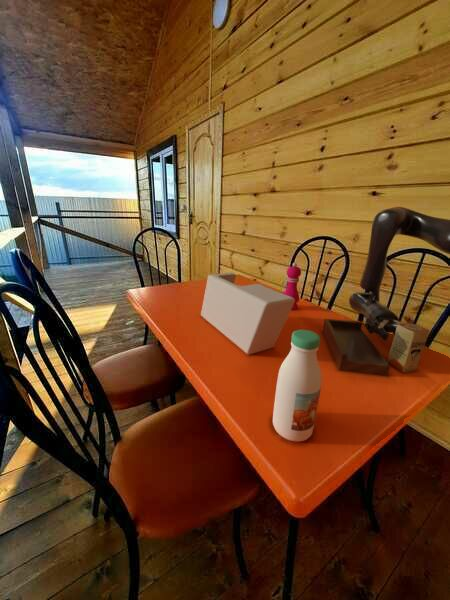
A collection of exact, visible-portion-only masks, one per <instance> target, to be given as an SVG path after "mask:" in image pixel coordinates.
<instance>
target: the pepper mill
mask: <svg viewBox="0 0 450 600" xmlns="http://www.w3.org/2000/svg"><path fill="white" fill-rule="evenodd" d="M301 275H302V269H301V268H300V267H299V266H298V263H297V262H293V263H292V266H289V267H288V268H287V269H286V276H287V277H286V281H287V286H286V288H285V290H284V292H282V294H285V295H287V296H290V297H292V298H294V299H295V302H294V304H293V307H292V309H291V311H295V310H297V309H298V303H299V301H300V294H299V291H298V283H299V282H300V276H301Z"/></svg>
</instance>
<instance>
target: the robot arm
mask: <svg viewBox="0 0 450 600" xmlns="http://www.w3.org/2000/svg"><path fill="white" fill-rule="evenodd" d="M371 224H372V225H371V231H370V240H369V245H368V253H367V256H366V262H365V265H364V268H363V271H362V273H361V278H360V281H359V287H360V288H361V289H362V290H365V291H367V292H360V291H359V292H358V291H357V292H353V293H352V294H351V295H350V296H349V297H348V298H349V299H348V304H349V306H350V308H351V309H352V310H353V311H355V312H357V313H359V314H361V315H362V316H364V317H365V318H366V319H365V322H364V328H365V329H366V331H367V332H368V333H369V334H372V335H373V334H375V335H377V336H379V338H381V339H382V340H383V341H388V339H389V336H390V334H391V333H392V334H395V332H396V328H397V325H398V324H404V323H403V322H401V321H400V320H399V317H398V315H397V314H396V313H395V312H394V311H392V310H391V309H390V308H388V307H387V305H384V304H382V302H380V292H381V286H382V283H383V280H384V277H385V275H386V270H387V258H388V257H387V256H388V251H389V248H390V246H391V243H392V241H393V240H394V238H395V237H396V236H398V235H401V236H407V237H411V238H416V239H419V240H422V241H424V242H426V243H427V244H429V245H430V246H432V247H434V248H435V249H437V250H439V251H441V252H443V253H445V254H447V255H450V219H448V218H443V217H442V218H441V217H435V216H431V215H427V214H425V213H422V212H418V211H416V210H412V209H410V208H407V207H404V206H393V207H390V208H385V209H382V210H381V211H379V212H378V213H377V214H376V215H375V216H374V217H373V220H372V223H371ZM389 333H390V334H389Z"/></svg>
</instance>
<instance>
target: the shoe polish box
mask: <svg viewBox="0 0 450 600" xmlns="http://www.w3.org/2000/svg"><path fill="white" fill-rule="evenodd" d="M430 332H431V330H429V329H427V328H426V327H423V326H421V325H418V324H416V323H413V322H407V323H405V322H404V323H403V324H398V325H397V328H396V332H395V333H394V336H393V338H392V343H391V345H390V350H389V352H388V353H389V354H388V357H387V360H386V362H387V363H388V364H389V366H391V367H393V368H395V369H396V370H398V371H399V372H401V373H409V372H414V371H417V370H418V367H419V364H420V361H421V358H422V355H423V352H424V349H425V346H426V343H427V340H428V337H429V335H430Z"/></svg>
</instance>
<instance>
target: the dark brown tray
mask: <svg viewBox="0 0 450 600" xmlns="http://www.w3.org/2000/svg"><path fill="white" fill-rule="evenodd" d="M362 327H363V322H362V321H355V320H345V319H333V318H324V320H323V326H322V334H323V336H324V339H325V341H326V343H327V345H328V348H329V351H330V352H331V355H332V357H333V360H334V361H335V364H336V366H337V369H338V370H339V371H343V372H351V373H358V374H367V375H373V376H384V377H388V375H389V372H390V368H391V365H390V364H389V363H387V360H386V359H385V358H384V356H383V355H382V354H381V353H380V351H379V350H378V349H377V347H376V346H375V345H374V343H373V342H372V341H371V340H370V338H369V337H368V336H367V335H366V333H365V332H364V331H363V329H362Z"/></svg>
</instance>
